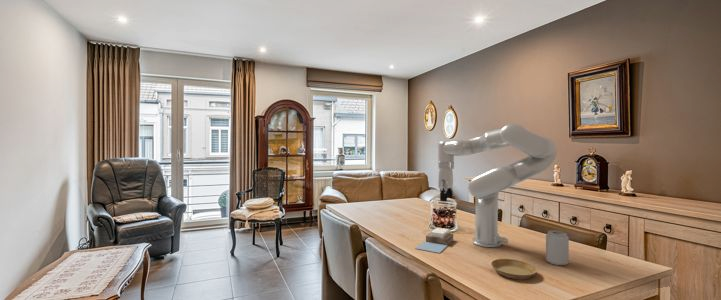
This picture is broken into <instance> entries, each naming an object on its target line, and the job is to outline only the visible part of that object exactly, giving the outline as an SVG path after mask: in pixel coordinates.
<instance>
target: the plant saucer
mask: <svg viewBox="0 0 721 300" xmlns="http://www.w3.org/2000/svg"><path fill="white" fill-rule="evenodd" d="M490 265H491V266H492V269H493V270H494V271H496V273H498V274H499V275H500V276H503V277H504V278H508V279H512V280H528V279H529V278H532V276H534V275H535V274H536V273H537V272H538V269H537V268H536V266H534V265H532V264H531V263H529V262H525V261H522V260H517V259H513V258H499V259H494V260H492V261H491V262H490Z"/></svg>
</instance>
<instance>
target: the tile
mask: <svg viewBox="0 0 721 300" xmlns="http://www.w3.org/2000/svg"><path fill="white" fill-rule="evenodd" d="M430 233H431V236H433V237H440V238H444V237H445V236H446V235H448V234H449V233H450V229H449V228H444V227H443V228H442V227H436V228H434V229H433V230H431V231H430Z"/></svg>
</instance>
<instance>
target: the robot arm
mask: <svg viewBox="0 0 721 300" xmlns="http://www.w3.org/2000/svg"><path fill="white" fill-rule="evenodd" d="M437 146H438V147H437V149H438V151H437V152H438V158H437V159H438V179H437V180H438V183H437V185H438V187H437V188H438V189H439V201H440V202H448V199H453V197H454V196H453V195H454V194H453V191H454V190H453V186H454V172H453V169H455V157H462V156H471V155H474V154H479V153H483V152H487V151H489V152H490V151H494V150H497V149H501V148H505V147H513V148H515V149H516V150H518V151H520V152H522V153H524V154H526V155H528V156H526V157H523V158H521V159H519V160H516V161H515V162H512V163H510V164H507V165H502V166H498V167H495V168H493V169H491V170H488V171H486V172H484V173H482V174H480V175H479V174H478V175H477V176H475V177H474V178H471V180H470V181H469V183H468V193H470V195H471V196H472V197H474V198H475V237H473V238H471V242H472V243H473V244H474V245H476V246H479V247H483V248H484V247H485V248H498V247H499V248H500V247H501V246H502V243H505V244H508V243H509V239H508V238H507V237H502V236H501V235H500V233H499V232H498V228H499V227H498V226H499V225H498V221H499V220H498V214H499V213H498V212H499V211H498V209H499V203H498V202H499V193H500V192H502V191H505V190H506V189H510V188H512V187H514V186H515V185H517V184H519V183H521V182H524V181H526V180H529V179H531V178H532V177H536V176H537V175H539V174H541V173H544V172H545V171H546V170H548V169H549V168H550V167H551V166H552V164H553V163H554V161H555V160H556V156H557V145H556V143H555V141H554V140H552V139H551V138H549V137H546V136H540V135H538V134H536V133H533V132H531V131H530V130H527V129H526V127H525V126H524V125H522V124H517V123H508V124H506V125H504V126H503V127H501V128H497V129H492V130H489V131H485V132H484V134H483V135H481V136H478V137H474V138H469V139H466V140H463V139H462V140H460V139H459V140H453V141H451V140H443V141H439V142H438V144H437Z"/></svg>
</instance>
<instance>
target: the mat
mask: <svg viewBox="0 0 721 300" xmlns="http://www.w3.org/2000/svg"><path fill="white" fill-rule="evenodd" d="M448 245H449V244H448ZM448 245H442V244H436V243H430V242H426V241H423V242H422V243H420V244H419V245H418V246H416V247H415V248H414V249H415V250H418V251H422V252H423V251H425V252H430V253H434V254H441V253H442V252H443V251H444V250H445V249H446V248H447V247H448Z"/></svg>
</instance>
